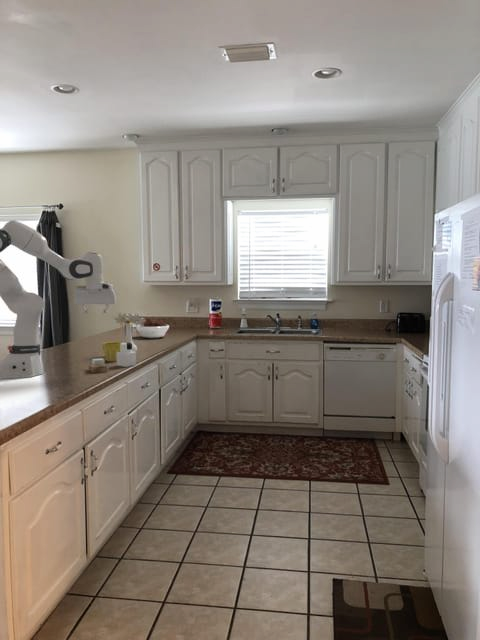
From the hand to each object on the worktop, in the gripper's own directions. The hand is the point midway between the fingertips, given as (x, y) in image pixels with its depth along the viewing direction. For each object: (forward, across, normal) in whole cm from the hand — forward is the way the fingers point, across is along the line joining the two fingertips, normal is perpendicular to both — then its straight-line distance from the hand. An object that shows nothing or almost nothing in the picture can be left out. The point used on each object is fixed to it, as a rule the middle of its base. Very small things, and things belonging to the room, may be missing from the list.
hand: (95, 313), depth 255 cm
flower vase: (+29, +10, +48) cm, 56 cm away
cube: (+28, 0, 0) cm, 28 cm away
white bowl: (+30, +14, +130) cm, 134 cm away
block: (+28, +2, -7) cm, 29 cm away
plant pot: (+29, +3, +26) cm, 39 cm away
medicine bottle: (+29, +13, +9) cm, 33 cm away
